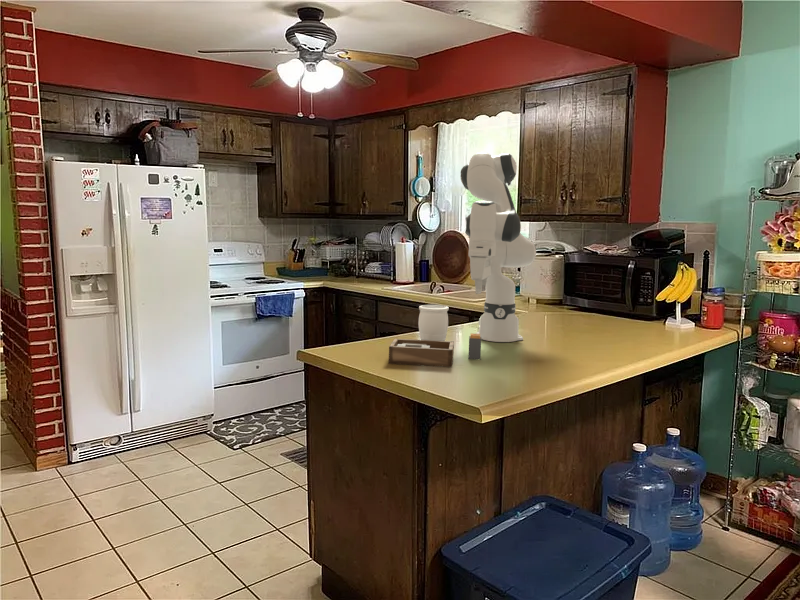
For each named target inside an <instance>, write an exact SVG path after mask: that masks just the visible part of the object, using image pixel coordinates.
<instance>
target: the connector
mask: <svg viewBox="0 0 800 600" xmlns="http://www.w3.org/2000/svg"><path fill="white" fill-rule="evenodd" d="M481 355H482V339H481V337H480V334H476V333H472V332H471V333H470V335H469V336H468V357H467V358H468V360H478V359H480V360H481V357H482V356H481Z"/></svg>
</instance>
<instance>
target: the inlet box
mask: <svg viewBox="0 0 800 600" xmlns="http://www.w3.org/2000/svg"><path fill="white" fill-rule="evenodd" d="M454 351H455V341H447V340H445V341H433V340H421V339H408V338H394V339H393V341H392V342H391V343H390V345H389V346H388V364H391V365H404V366H405V365H407V366H421V365H424V367H439V366H443V368H452V367H453V363H452V362H454V353H455V352H454Z"/></svg>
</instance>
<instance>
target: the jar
mask: <svg viewBox="0 0 800 600" xmlns="http://www.w3.org/2000/svg"><path fill="white" fill-rule="evenodd" d="M418 309H419V315H418V322H417V323H418V331H419V340H433V341H446V339H447V333H448V331H449V330H448V328H449V315H448V311H449V306H447V305H441V304H422V305H419V307H418Z"/></svg>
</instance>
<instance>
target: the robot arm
mask: <svg viewBox="0 0 800 600" xmlns="http://www.w3.org/2000/svg"><path fill="white" fill-rule="evenodd" d="M517 167H518V166H517V162H516V160H515V158H514V157H513V155H512V154H510V153H500V154H499V155H491V154H490V153H488V152H484V151H481V152H480V151H479V152H477V153H475V154H473V156H471V157H470V160H469V162H468V163H466V165H463V166H462V168H461V169H460V181H461V184H462V185H463V187H464V188H465V190H468V191H469V192H470V194H471V195H472V196H473V197H475V198H477V199H479V200H476V201H473V203H472V205H471V210H470V214H469V215H467V216H466V217H465V220H466V223H465V232H464V233H465V234H466V236H468V237H469V239H468V255H467V256H468V257H469V263H470V264H469V265H470V266H469V267H470V269H469V270H470V278H471V280H472V281H474V287H475V294H478V295H481V294H482V292H485V301H484V303H483V304H484V305H483V311H484V313H483V314H481V316H480V318H479V319H478V331H477V332H475V334H480V337H481V340H484V341H489V342H496V343H510V342H512V343H513V342H516V341H517V342H518V341H523V340H524V337H523V336H522V335H521V334H519V329H520V328H519V325H520V323H519V322H520V320H519V318H518V316H517V315H516V309H517V307H516V303H515V297H516V284H515V282H514V280H513V279H511V278H510V277H508V276H507V275H504V274H503V272H502V268H522V267H526V266H527V267H528V266H530V265H532V264H533V263H534V261H535V260H536V255H537V249H536V246H535V244H534V243H533V241H532V240H530V239H528V238H527V237H525V236H524V235H523V234H522V232H521V230H522V224H521V220H520V219H521V218H520V216H519V214H518V213H517V210H516V208H515V204H514V202H513V198H512V195H511V192H510V189H509V186H511V185H512V181H513V180H515V177H516V175H517V171H518V170H517Z"/></svg>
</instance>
